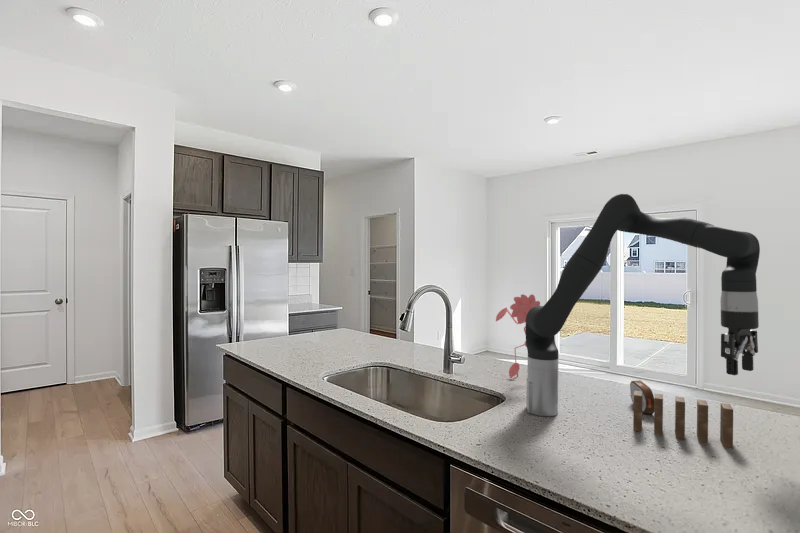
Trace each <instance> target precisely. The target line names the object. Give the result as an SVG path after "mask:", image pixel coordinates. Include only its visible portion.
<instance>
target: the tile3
mask: <svg viewBox="0 0 800 533" xmlns="http://www.w3.org/2000/svg"><path fill="white" fill-rule="evenodd" d="M674 402H675V405H674V408H675V409H674V413H675V414H674V416H675V417H674V418H675V419H674V433H675V434H674V435H675V439H677V440H678V439H679V440H683V441H686V436H685V435H686V400H685V397H683V396H675V401H674Z"/></svg>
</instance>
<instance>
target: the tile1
mask: <svg viewBox="0 0 800 533" xmlns="http://www.w3.org/2000/svg"><path fill="white" fill-rule="evenodd" d="M632 418H633V421H632V422H633V425H632V426H633V428H632V429H633V431H635V432H640V433H642V429H643V413H642V391H634V404H633V417H632Z"/></svg>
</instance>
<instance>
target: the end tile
mask: <svg viewBox="0 0 800 533" xmlns="http://www.w3.org/2000/svg"><path fill="white" fill-rule="evenodd" d="M719 415H720V418H719V420H720V425H719V426H720V427H719V428H720V429H719V430H720V431H719V440H720V443H721V446H722V447H723V448H725V447H726V448H727V449H731V450H733V448H734V408H733V406H732V405H731V403H724V402H720V414H719ZM726 448H725V449H726Z"/></svg>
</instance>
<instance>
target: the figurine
mask: <svg viewBox="0 0 800 533" xmlns="http://www.w3.org/2000/svg"><path fill="white" fill-rule="evenodd" d="M513 302H514V303H512V304H511V305H510V306H509V308H510V310H512V312H511V313H510V311H509V310H508V307H504V308H502V309H501V310H499V312H498V313H497V314H496V316H495V322H498V321H500V320H501V319H503V317H505V316H506V313H508V315H509V316H510V318H512V320H513V321H514V323H516V325H522V324H524V323H525V324H526V316H527V313H528V312H529V310H530V309H532V308H533V307H535V306H541V301H539V300H536V296H535V295H534V294H530V295H529V296H527V295H526V294H524V293H523V294H520V296H514V297H513ZM515 318H516V319H515ZM523 332H524V334H525V336H526V325H525V326H524V327H523ZM523 346H525V347H526V348H527V346H526V340H525V341H524V344H522V345H519V346H516V347H514V349H513V350H514V360H515V361H514V363H513V364H512V365H511V366H510V367H509V370H508V377H509V379H512V378H514V377H515V376H516V377H519V371H520V364H519V363H518V362H517V353H516V351H517V350H516V349H518V348H521V347H523Z"/></svg>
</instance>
